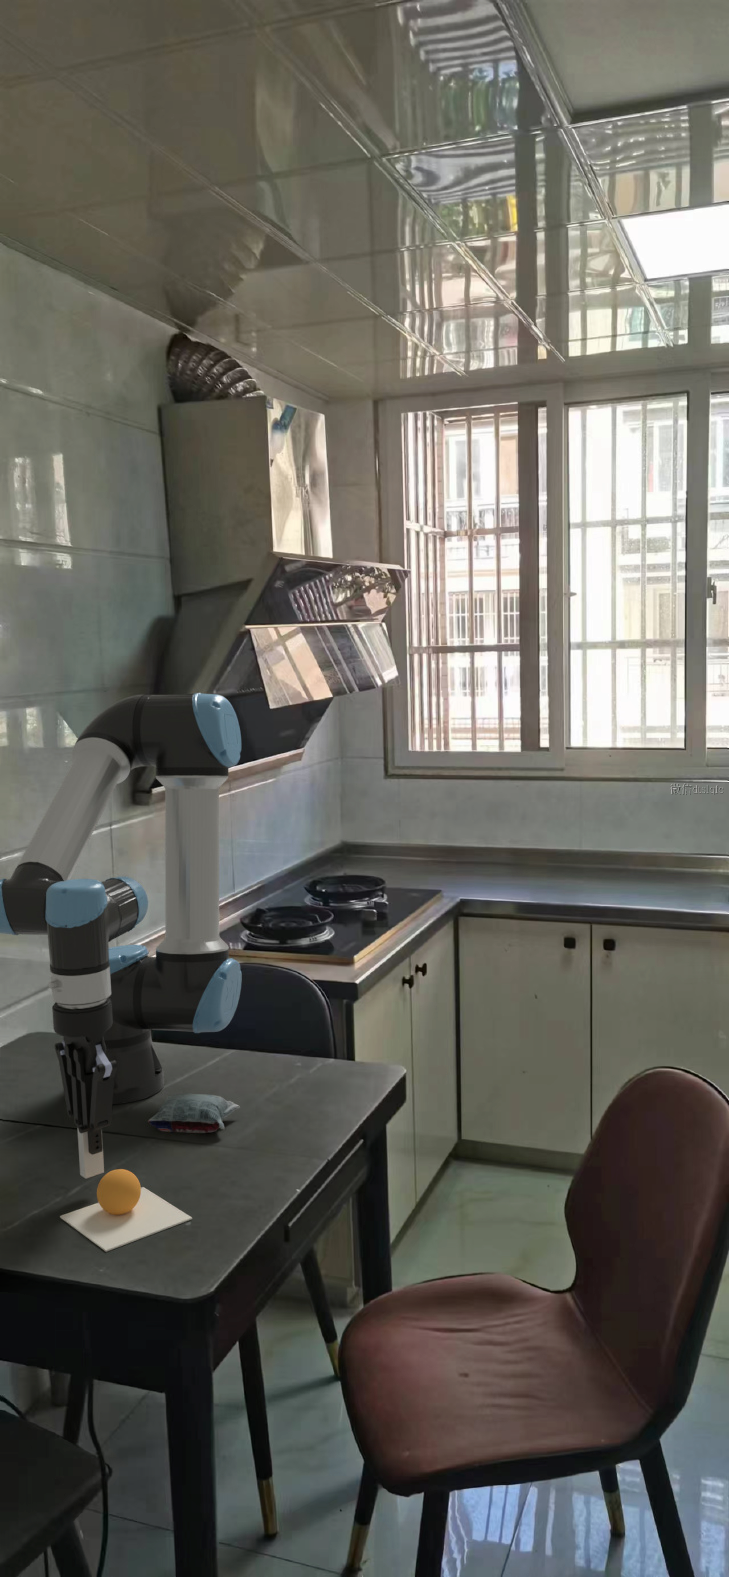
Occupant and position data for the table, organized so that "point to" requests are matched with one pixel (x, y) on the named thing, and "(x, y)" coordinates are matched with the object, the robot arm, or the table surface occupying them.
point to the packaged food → (192, 1113)
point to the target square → (125, 1221)
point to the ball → (118, 1191)
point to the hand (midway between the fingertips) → (92, 1173)
